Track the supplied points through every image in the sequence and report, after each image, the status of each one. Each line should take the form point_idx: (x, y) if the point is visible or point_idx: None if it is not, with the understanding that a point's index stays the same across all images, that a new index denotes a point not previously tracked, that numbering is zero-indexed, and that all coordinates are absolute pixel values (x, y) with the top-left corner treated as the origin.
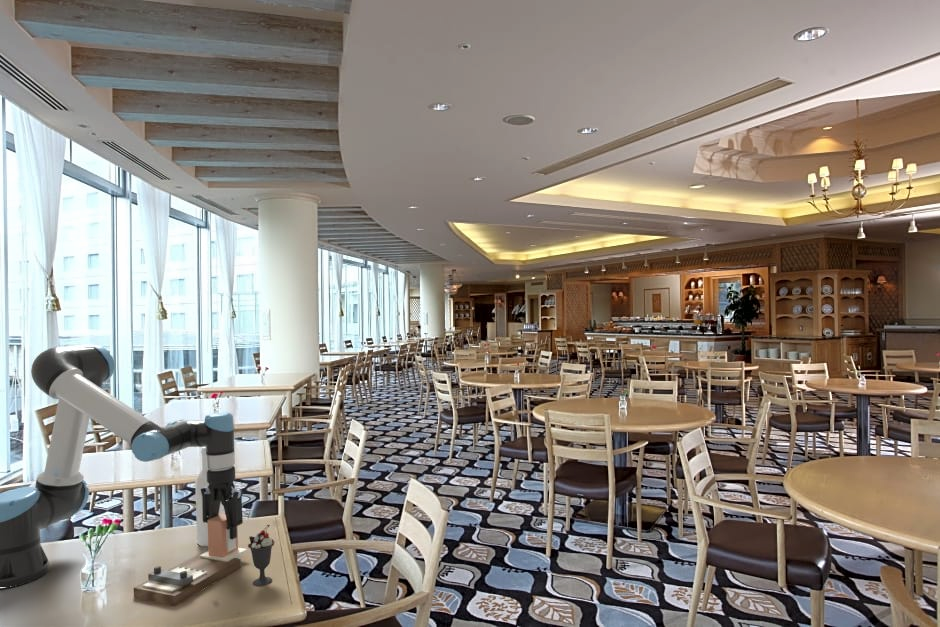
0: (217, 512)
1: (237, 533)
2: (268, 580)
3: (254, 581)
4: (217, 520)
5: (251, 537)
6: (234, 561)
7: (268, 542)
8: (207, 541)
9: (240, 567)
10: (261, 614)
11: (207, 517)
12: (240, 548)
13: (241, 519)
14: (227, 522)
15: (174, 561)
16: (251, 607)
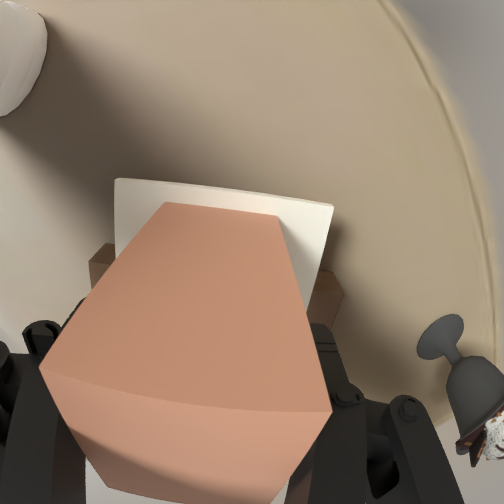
0: (60, 466)
1: (291, 264)
2: (457, 337)
3: (423, 350)
4: (200, 500)
5: (477, 458)
6: (327, 320)
7: None
8: (5, 107)
9: (332, 274)
10: (450, 415)
11: (5, 403)
12: (286, 204)
13: (428, 441)
14: (294, 472)
15: (19, 261)
16: (432, 411)
